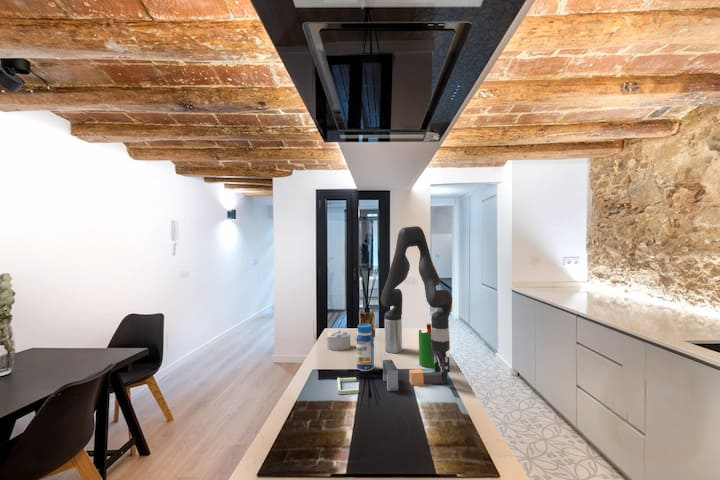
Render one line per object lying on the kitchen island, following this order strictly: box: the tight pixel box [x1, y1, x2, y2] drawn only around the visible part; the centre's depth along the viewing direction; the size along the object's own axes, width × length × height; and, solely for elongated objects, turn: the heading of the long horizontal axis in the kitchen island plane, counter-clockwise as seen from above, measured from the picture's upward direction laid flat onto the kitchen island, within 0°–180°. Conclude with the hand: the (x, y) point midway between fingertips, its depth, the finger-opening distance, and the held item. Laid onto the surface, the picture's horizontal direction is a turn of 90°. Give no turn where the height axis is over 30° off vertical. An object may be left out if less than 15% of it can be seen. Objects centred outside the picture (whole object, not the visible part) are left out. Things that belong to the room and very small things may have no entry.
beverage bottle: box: [355, 323, 375, 372], centre depth 152 cm, size 8×8×20 cm
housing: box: [382, 359, 399, 392], centre depth 134 cm, size 4×12×8 cm, turn 6°
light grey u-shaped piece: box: [336, 377, 360, 395], centre depth 132 cm, size 12×8×2 cm, turn 6°
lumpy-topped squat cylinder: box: [326, 329, 351, 351], centre depth 184 cm, size 10×13×9 cm
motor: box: [418, 322, 435, 369], centre depth 156 cm, size 10×9×20 cm
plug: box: [408, 368, 445, 386], centre depth 136 cm, size 14×4×5 cm, turn 96°
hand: (440, 377), depth 136 cm, fingers open, 8 cm apart
